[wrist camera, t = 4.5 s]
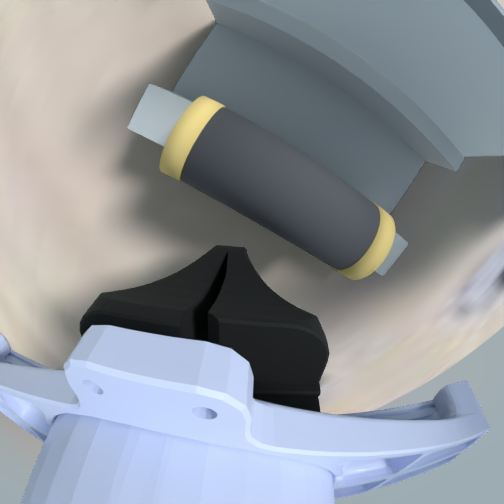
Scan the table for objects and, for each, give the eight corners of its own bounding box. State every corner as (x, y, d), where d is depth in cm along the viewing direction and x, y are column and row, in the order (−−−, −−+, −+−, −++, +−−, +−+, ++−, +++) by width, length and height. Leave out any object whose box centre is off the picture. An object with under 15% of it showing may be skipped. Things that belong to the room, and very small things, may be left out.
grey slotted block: (430, 148, 13) (465, 157, 10) (361, 247, 16) (382, 276, 13) (227, 12, 10) (218, -16, 7) (155, 126, 13) (127, 128, 10)
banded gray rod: (375, 203, 11) (407, 229, 8) (336, 257, 12) (355, 295, 9) (212, 100, 9) (194, 90, 7) (177, 165, 11) (148, 179, 8)
